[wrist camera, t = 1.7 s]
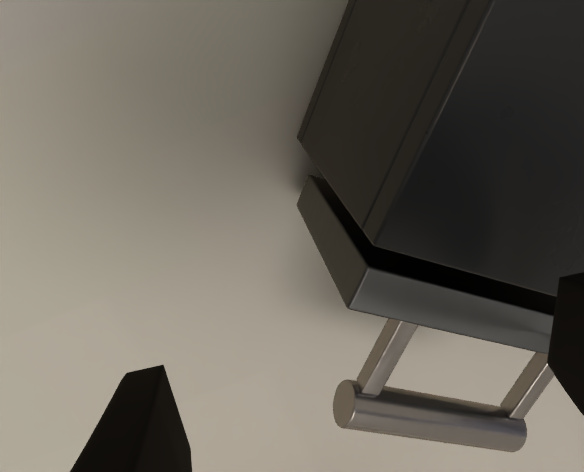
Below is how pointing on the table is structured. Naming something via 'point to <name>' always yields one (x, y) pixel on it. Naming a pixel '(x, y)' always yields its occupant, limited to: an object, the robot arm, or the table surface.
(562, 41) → the black drawer box
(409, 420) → the drawer
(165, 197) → the table surface
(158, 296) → the table surface
